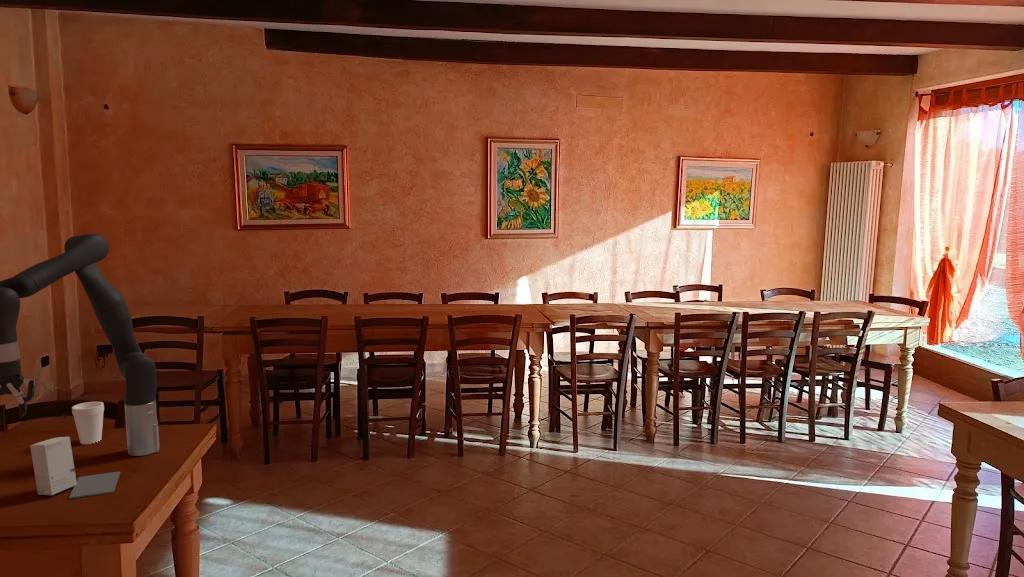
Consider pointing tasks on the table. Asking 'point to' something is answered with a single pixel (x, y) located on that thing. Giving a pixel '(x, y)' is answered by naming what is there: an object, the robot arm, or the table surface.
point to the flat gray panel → (95, 485)
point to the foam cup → (89, 421)
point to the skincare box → (53, 465)
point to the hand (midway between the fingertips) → (9, 417)
